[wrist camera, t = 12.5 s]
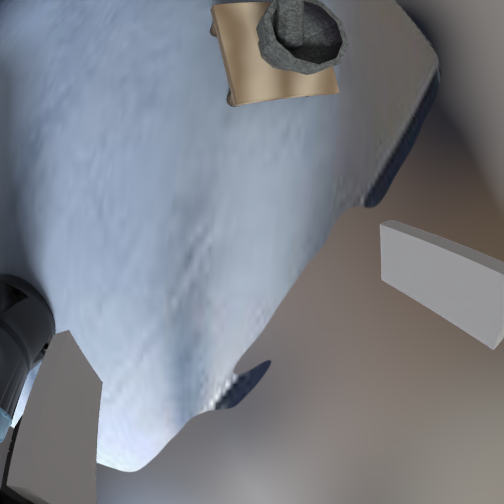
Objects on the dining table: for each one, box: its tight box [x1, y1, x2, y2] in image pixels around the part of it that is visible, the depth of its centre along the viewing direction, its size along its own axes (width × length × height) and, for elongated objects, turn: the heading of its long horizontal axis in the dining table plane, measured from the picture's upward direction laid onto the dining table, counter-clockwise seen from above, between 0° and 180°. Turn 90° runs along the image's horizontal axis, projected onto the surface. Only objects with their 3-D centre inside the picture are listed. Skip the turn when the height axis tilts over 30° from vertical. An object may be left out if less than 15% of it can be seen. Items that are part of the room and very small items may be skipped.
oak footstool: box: [210, 2, 339, 107], centre depth 31 cm, size 14×14×6 cm
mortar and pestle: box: [256, 0, 348, 75], centre depth 22 cm, size 11×9×12 cm
